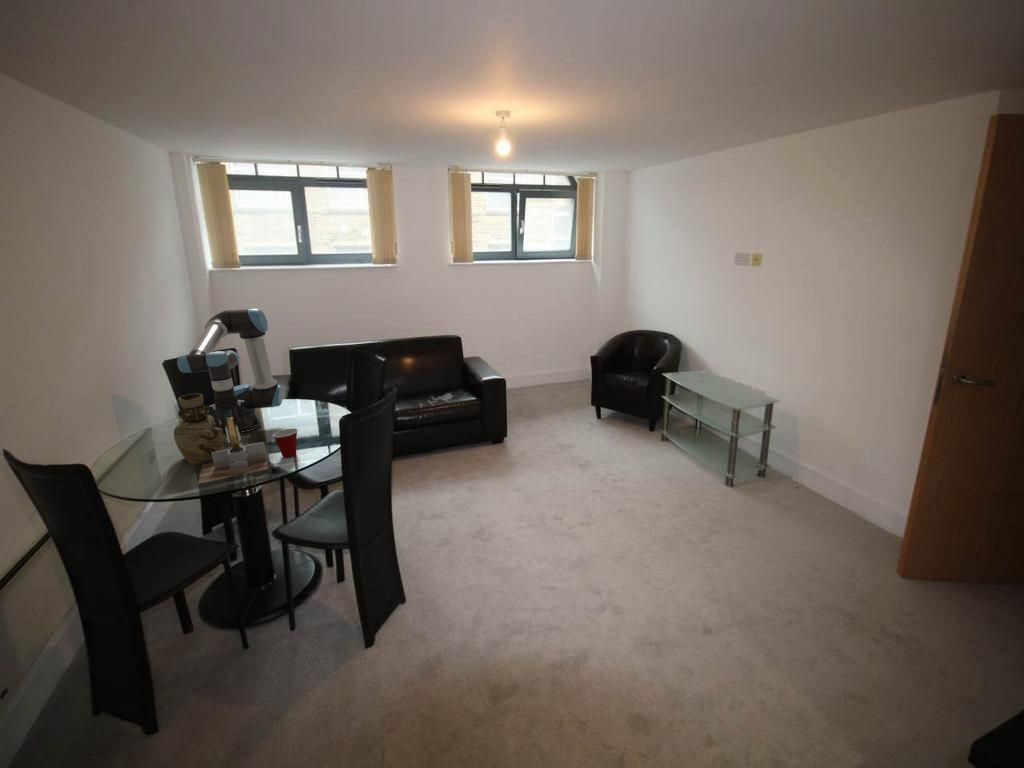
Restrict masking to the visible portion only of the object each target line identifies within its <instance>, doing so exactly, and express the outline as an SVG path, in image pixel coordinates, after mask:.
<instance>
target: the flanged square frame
mask: <svg viewBox="0 0 1024 768" xmlns="http://www.w3.org/2000/svg"><path fill="white" fill-rule="evenodd" d="M211 454H212V458H213V460H212V461H213V462H212V463H214V467H215V469H219V468H224V467H228V466H230V462H235V461H240V460H245V459H247V454H248V452H247V448H246V445H240V449H238V450H232V447H231V448H227V449H223V450H220V451H215V452H211Z"/></svg>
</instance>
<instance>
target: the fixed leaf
mask: <svg viewBox="0 0 1024 768" xmlns="http://www.w3.org/2000/svg"><path fill="white" fill-rule="evenodd" d="M245 447H246V452H247V459H245V460H240V461H235V462H230V467H231V471H236V470H241V469H245V468H249V463H251V462H256V461H260V460H265V459H267V460H268V454H267V455H266V452H267V451H266V446H265V442H264V441H259V442H255V443H251V444H250V443H249V444H246V445H245Z"/></svg>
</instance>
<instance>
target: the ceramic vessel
mask: <svg viewBox="0 0 1024 768" xmlns="http://www.w3.org/2000/svg"><path fill="white" fill-rule="evenodd" d="M177 399H178V402H179V405H180V407H181V409H180V410H178V413H177V415H178V417H179V419H181V421H180V422H179V423H178V424H177V425H176V426H175V428H174V429H173V438H174V439H173V440H174V442H175V445H176V447H177V448H178V450H179V452H180V453H181V455H182V457H183V458H184V459H185V461H186V462H187V463H188V464H190V465H199V464H204V463H207V462H209V461H213V458H212V454H211V452H215V451H220V450H224V446H223V445H224V444H223V442H224V440H225V435H224V434H223V430H222V428H217V427H216V423H215V420H214V417H213V415H210V414H209V413H210V409H209V406H208V405H204V395H203V394H202V393H199V392H198V393H188V394H184V395H181V396H179V397H178V398H177ZM219 422H220V424H222V421H221V420H219ZM226 426H227V424H225V427H226Z"/></svg>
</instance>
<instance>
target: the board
mask: <svg viewBox="0 0 1024 768" xmlns="http://www.w3.org/2000/svg"><path fill="white" fill-rule="evenodd" d="M266 455H267V456H268V453H267V451H266ZM268 469H269V465H268V458H267V459H265V460H260V461H256V462H251V463H249V468H245V469H241V470H236V471H231V467H230V466H228V467H224V468H219V469H215V467H214V462H210V463H207V464H206V463H205V464H202V465H201V468H200V473H199V477H198V483H197V484H198V485H200V484H204V483H205V484H206V483H210V482H213V481H218V480H223V479H227V478H232V477H237V476H242V475H245V474H246V475H247V474H250V473H251V474H252V473H255V472H260V471H265V470H268Z"/></svg>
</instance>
